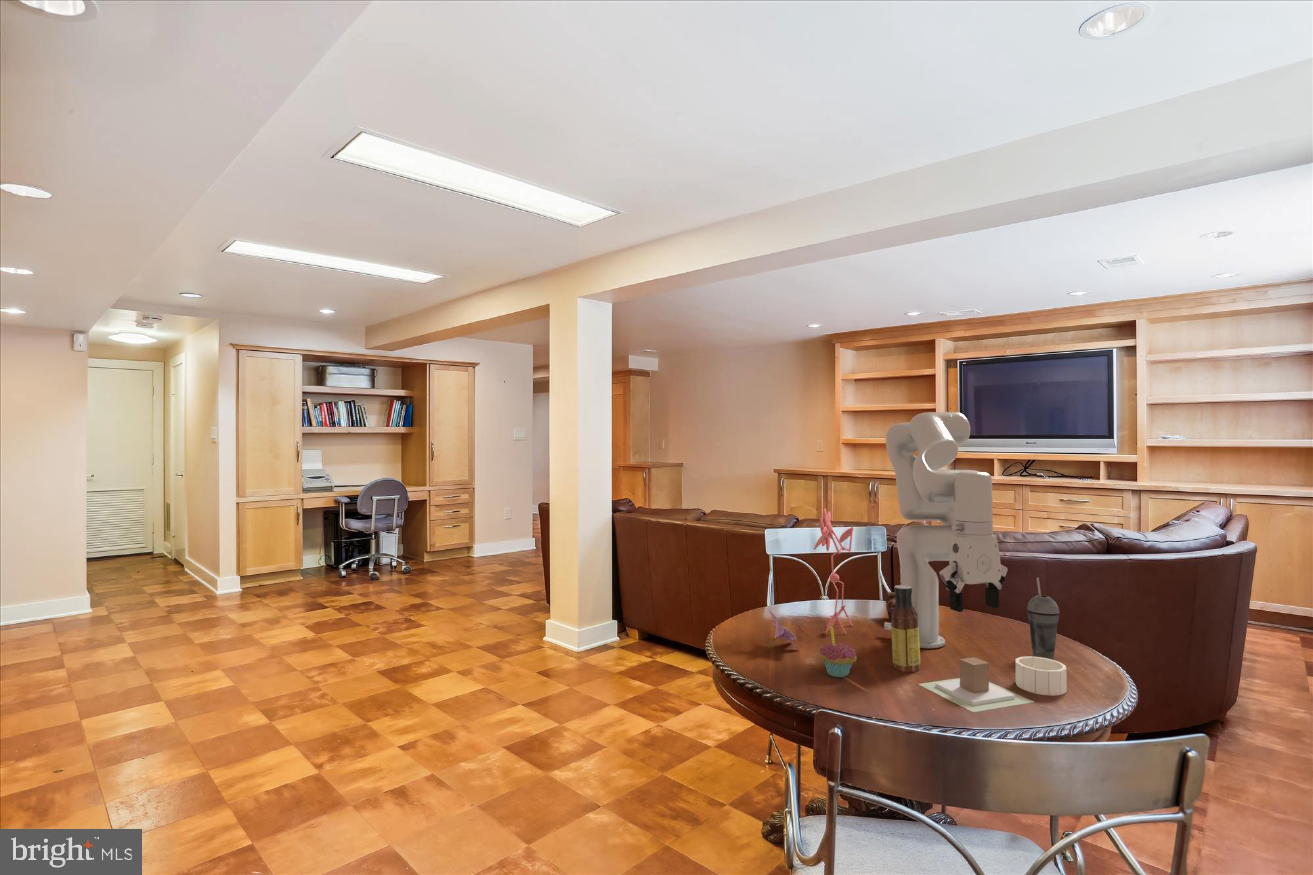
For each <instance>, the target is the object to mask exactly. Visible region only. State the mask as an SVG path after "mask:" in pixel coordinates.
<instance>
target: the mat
mask: <svg viewBox="0 0 1313 875" xmlns="http://www.w3.org/2000/svg"><path fill="white" fill-rule="evenodd" d="M959 679H960V677H958V678H956V677H955V678H951V679H950V678H949V679H943V680H938V681H937V680H936V681H931V682H930V681H929V682H924V683H923V682H922V683H918V685H919V686H921V687H923V688H924V689H927V691H928V690H929V691H931V692H932V693H934V694H936V695H938V696H940V697H942V698H944V699H945V700H948V701H950V702H952V703H954V704H956V705H958V706H959V707H962V708H963V709H966V711H967V710H968V711H969V712H972V713H978V712H983V711H990V710H995V709H997V710H998V709H1001V708H1008V707H1012V706H1020V705H1025V704H1026V705H1027V704H1031V703H1035V701H1034V700H1031V699H1029V698H1027V697H1025V696H1022V695H1020V694H1018V693H1016V692H1014V691H1011V690H1008V689H1006V688H1004V687H1002V686H999V685H997V684H995V683H993V682H990V681H989V684H991V685H994V686H996V687H998V688H1000V689H1003V690H1005V691H1007V692H1009V693H1012V694H1014V695H1015V699H1011V700H1005V701H999V702H993V703H987V704H981V705H975V706H973V705H971V704H969V703H967V702H965V701H963V700H961V699H959V698H957V697H955V696H953V695H951V694H949V693H947V692H945V691H943V690H941V689H939V688H937V687H935V683H939V682H946V681H952V680H959Z"/></svg>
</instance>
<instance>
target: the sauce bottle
mask: <svg viewBox="0 0 1313 875" xmlns="http://www.w3.org/2000/svg"><path fill="white" fill-rule="evenodd" d="M893 592H894V593H895V607H894V608H893V610H892V612H891V620H890V623H891V631H890V632H891V649H892V652H891V653H892V663H893V664H892V665H893V668H895V669H896V670H897V671H899V672H906V673H915V672H920V670H921V665H920V664H921V651H920V650H921V648H920V644H919V626H918V615H917V613H916V611H915V609H914V607H913V606H912V587H911V586H906V585H901V584H899V585H898V584H897V585H894V587H893Z"/></svg>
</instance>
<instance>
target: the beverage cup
mask: <svg viewBox="0 0 1313 875" xmlns="http://www.w3.org/2000/svg"><path fill="white" fill-rule="evenodd" d="M1036 584H1037V591H1038V594H1037V595H1035V596H1033V597H1031V598H1030V600H1029V601H1028V602H1027V606H1026V614H1027V618H1028V624H1029V634H1030V642H1031V643H1030V644H1031V651H1032V657H1033V656H1034V657H1041V658H1047V659H1051V660H1055V659H1054V658H1055V651H1056V641H1057V631H1058V622H1059V618H1060V613H1061V612H1060V608H1059V605H1058V604H1057V602H1056V601H1055V600H1054V599H1053V598H1052V597H1051V596H1048V595H1046V594H1042V593H1041V584H1040V578H1039V577H1036Z"/></svg>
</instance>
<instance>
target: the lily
mask: <svg viewBox="0 0 1313 875" xmlns="http://www.w3.org/2000/svg"><path fill="white" fill-rule="evenodd" d="M766 609H767V611H768V613H770V615H771V616H772V618H773V620H774V622H772V623H771V626H773V627H774V629H775V630H774V632H775V633H774V634H775V636H774V637H773V639H772V640H771V642H770V644H769V646H768V648H769V649H771V648H770V647H771V646H772V645H773V642H774V641H775V640H776V638H778V639H783V640H786V641H788V643H789V642H790V643H791V645H793V646H794V648H795V649H796V651H798V650H799V648H798V647H797V645H796V644H795V643H794V640H797V639H798V638H797V637H796V635H795V634H794V633H793V632H792V631H791V630H790V629H789V627H787V626H785V627H784V626H783V624H782V623H781V621H780V619H778V617H776V616H775V614H774V613H773V612H772V611H771V610H770V609H769V608H766ZM790 643H789V644H790Z"/></svg>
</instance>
